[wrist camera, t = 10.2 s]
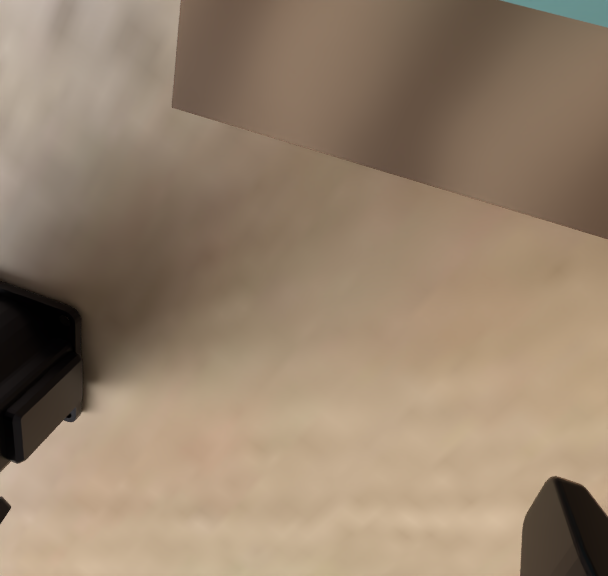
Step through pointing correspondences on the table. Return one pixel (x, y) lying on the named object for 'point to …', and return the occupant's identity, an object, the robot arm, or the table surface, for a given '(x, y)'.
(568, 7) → the teal cube
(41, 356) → the robot arm
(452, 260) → the table surface
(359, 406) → the table surface
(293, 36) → the walnut board
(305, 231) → the table surface
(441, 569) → the table surface
